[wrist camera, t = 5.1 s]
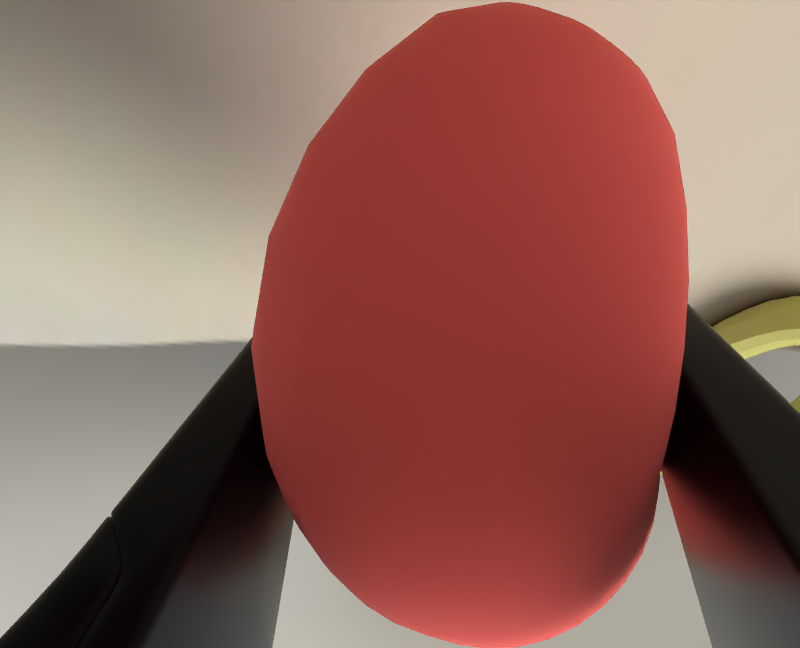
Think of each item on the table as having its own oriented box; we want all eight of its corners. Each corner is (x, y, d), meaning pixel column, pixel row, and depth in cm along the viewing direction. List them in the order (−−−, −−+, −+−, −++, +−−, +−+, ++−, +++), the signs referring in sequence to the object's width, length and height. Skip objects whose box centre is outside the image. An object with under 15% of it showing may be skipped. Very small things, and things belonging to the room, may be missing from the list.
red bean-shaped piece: (280, 352, 14) (372, 672, 12) (80, 17, 5) (280, 943, 3) (511, 278, 14) (639, 573, 12) (658, -135, 6) (1143, 584, 4)
